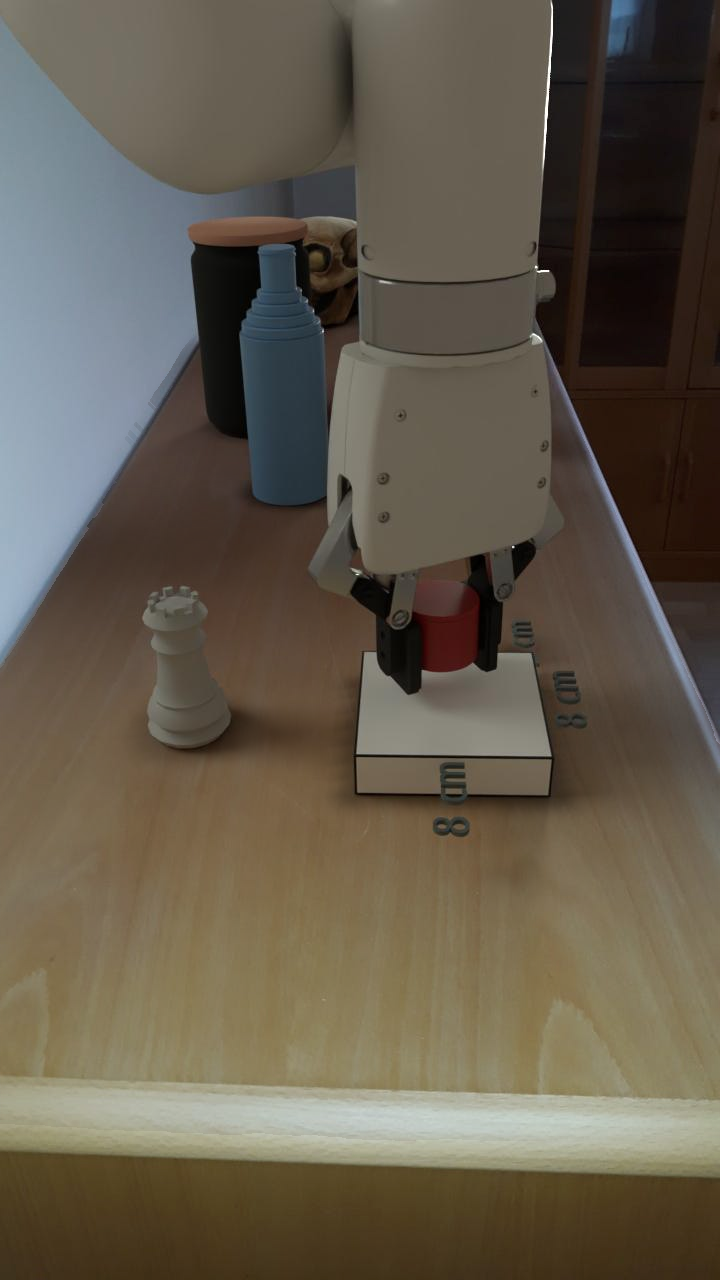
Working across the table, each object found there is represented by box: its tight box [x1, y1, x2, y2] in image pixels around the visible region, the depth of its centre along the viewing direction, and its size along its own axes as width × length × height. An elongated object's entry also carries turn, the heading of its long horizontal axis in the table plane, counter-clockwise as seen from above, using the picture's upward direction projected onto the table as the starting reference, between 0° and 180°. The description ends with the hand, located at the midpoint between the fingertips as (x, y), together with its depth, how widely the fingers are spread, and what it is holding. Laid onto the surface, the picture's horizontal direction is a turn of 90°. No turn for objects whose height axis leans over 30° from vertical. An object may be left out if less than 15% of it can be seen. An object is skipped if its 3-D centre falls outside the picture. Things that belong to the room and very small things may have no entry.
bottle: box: [240, 244, 329, 506], centre depth 77 cm, size 6×6×19 cm
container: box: [353, 620, 588, 838], centre depth 51 cm, size 20×11×3 cm, turn 177°
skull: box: [299, 215, 359, 327], centre depth 132 cm, size 16×17×13 cm
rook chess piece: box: [141, 585, 232, 750], centre depth 51 cm, size 4×4×8 cm
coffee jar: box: [187, 216, 312, 439], centre depth 92 cm, size 11×11×18 cm
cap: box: [412, 579, 480, 672], centre depth 50 cm, size 4×4×3 cm
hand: (439, 666), depth 52 cm, fingers closed on cap, 3 cm apart
